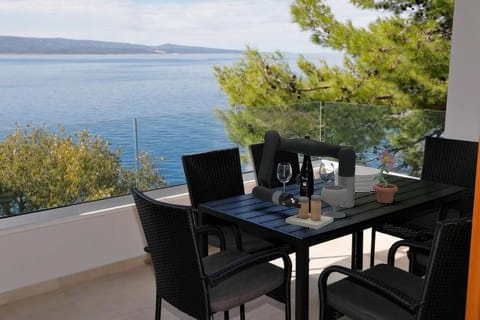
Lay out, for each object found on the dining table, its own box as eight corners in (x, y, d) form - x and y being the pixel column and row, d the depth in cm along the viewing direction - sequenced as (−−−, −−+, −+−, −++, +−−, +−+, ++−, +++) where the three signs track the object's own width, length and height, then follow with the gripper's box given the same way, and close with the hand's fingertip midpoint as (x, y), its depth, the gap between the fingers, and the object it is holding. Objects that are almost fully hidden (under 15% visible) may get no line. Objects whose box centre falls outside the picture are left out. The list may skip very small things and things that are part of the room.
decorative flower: (383, 206, 295) (385, 153, 290) (365, 201, 307) (367, 150, 301) (402, 203, 302) (405, 151, 297) (384, 198, 314) (386, 147, 309)
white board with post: (302, 215, 279) (302, 189, 276) (333, 221, 268) (334, 194, 266) (285, 222, 267) (286, 195, 264) (317, 229, 256) (317, 201, 253)
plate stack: (345, 194, 324) (346, 176, 322) (327, 184, 351) (327, 167, 348) (387, 191, 331) (388, 173, 328) (366, 182, 357) (367, 165, 355)
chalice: (344, 211, 286) (345, 184, 283) (350, 219, 272) (351, 190, 269) (318, 212, 285) (318, 184, 283) (323, 219, 272) (323, 190, 269)
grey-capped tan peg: (301, 218, 273) (302, 196, 271) (310, 220, 270) (310, 197, 268) (296, 221, 269) (296, 198, 267) (305, 222, 266) (305, 199, 264)
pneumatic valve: (295, 192, 329) (295, 173, 327) (309, 189, 336) (310, 170, 334) (300, 193, 325) (301, 174, 323) (315, 191, 331) (315, 172, 329)
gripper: (273, 194, 273) (297, 200, 261) (292, 189, 282) (315, 195, 271) (273, 208, 274) (296, 214, 262) (292, 203, 284) (315, 209, 272)
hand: (306, 204), depth 267 cm, fingers open, 8 cm apart
